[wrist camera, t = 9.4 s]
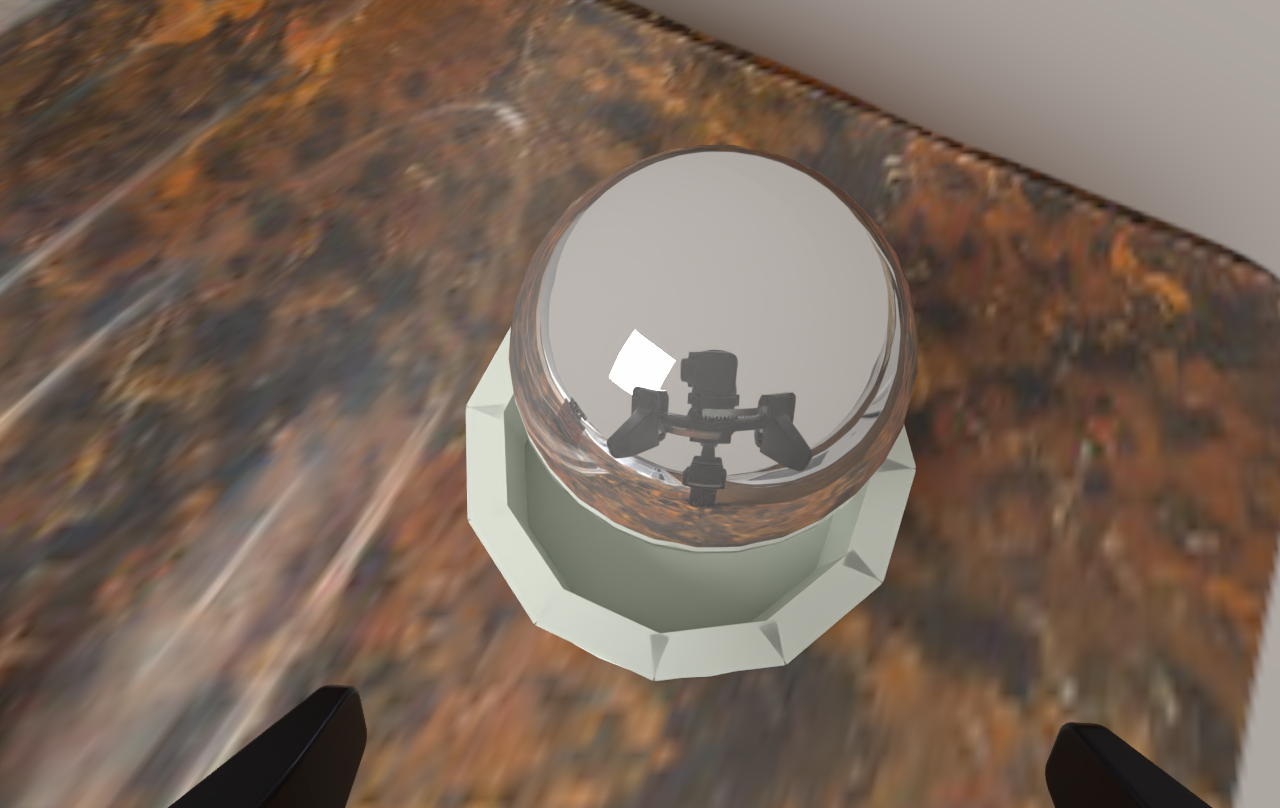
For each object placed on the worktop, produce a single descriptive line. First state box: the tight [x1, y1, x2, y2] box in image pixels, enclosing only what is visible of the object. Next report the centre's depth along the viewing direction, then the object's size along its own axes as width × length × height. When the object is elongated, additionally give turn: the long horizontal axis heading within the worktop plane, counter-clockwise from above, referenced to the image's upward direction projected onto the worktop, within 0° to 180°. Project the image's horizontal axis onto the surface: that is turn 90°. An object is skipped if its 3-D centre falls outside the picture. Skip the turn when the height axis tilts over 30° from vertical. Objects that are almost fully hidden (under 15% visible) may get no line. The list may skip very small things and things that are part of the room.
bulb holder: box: [466, 327, 916, 681], centre depth 18 cm, size 12×12×4 cm
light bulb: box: [509, 145, 919, 554], centre depth 14 cm, size 7×7×12 cm
